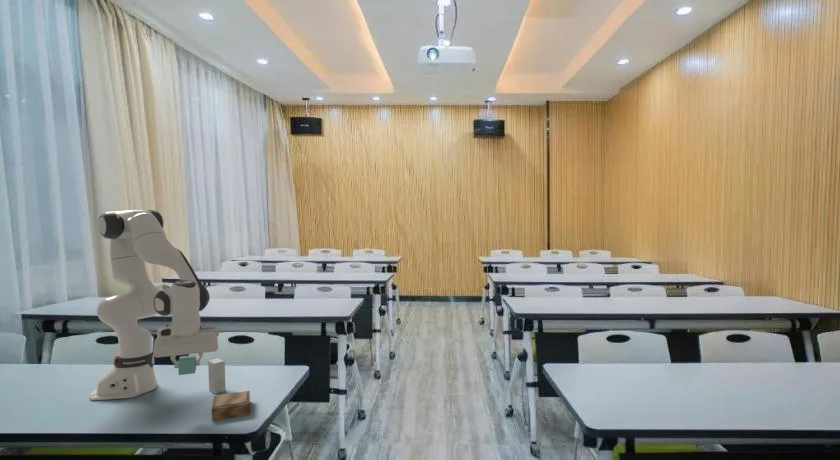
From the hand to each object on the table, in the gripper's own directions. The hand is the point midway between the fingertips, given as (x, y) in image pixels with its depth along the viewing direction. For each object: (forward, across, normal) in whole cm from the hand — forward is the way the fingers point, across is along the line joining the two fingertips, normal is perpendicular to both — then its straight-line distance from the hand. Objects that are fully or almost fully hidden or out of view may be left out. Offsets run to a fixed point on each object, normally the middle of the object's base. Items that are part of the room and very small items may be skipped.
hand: (187, 366), depth 159 cm
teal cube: (+2, 0, 0) cm, 2 cm away
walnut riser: (+16, -14, +4) cm, 22 cm away
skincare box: (+17, -8, -18) cm, 26 cm away
